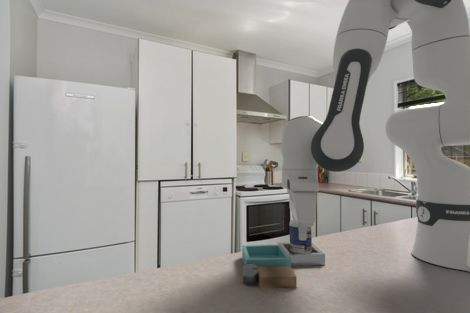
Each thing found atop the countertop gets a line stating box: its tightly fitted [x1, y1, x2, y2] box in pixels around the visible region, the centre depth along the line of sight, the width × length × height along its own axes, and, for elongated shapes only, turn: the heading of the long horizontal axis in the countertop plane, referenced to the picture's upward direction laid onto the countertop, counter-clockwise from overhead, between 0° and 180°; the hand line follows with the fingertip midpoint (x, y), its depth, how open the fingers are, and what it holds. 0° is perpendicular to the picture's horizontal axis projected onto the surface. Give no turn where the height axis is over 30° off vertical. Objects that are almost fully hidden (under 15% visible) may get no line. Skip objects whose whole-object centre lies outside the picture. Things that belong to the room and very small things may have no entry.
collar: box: [277, 242, 326, 267], centre depth 64 cm, size 9×9×2 cm
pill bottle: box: [289, 212, 313, 253], centre depth 65 cm, size 5×5×10 cm
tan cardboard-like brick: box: [257, 266, 298, 290], centre depth 51 cm, size 7×5×2 cm
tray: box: [241, 244, 292, 268], centre depth 59 cm, size 10×10×3 cm
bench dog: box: [242, 264, 259, 287], centre depth 51 cm, size 3×3×3 cm
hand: (300, 235), depth 65 cm, fingers closed on pill bottle, 5 cm apart
